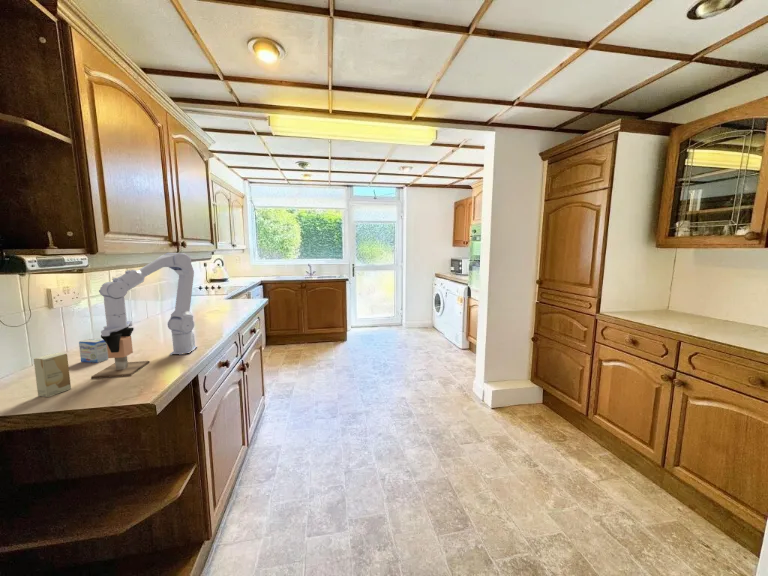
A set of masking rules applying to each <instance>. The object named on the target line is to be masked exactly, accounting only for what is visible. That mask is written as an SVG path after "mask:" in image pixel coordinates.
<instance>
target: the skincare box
mask: <svg viewBox="0 0 768 576" xmlns="http://www.w3.org/2000/svg"><path fill="white" fill-rule="evenodd" d="M33 364H34V374H35V381H36V391H37V396H38V397H45V398H48V397H49V396H50V397H52V396H54V395H57V394H60V393H63V392H66V391H69V390H71V389H72V385H71V377H70V375H71V374H70V368H69V357H68V353H65V352H54V353H51V354H46V355H41V356H39V357H34V358H33ZM50 397H49V398H50Z"/></svg>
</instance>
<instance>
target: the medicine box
mask: <svg viewBox="0 0 768 576" xmlns="http://www.w3.org/2000/svg"><path fill="white" fill-rule="evenodd" d="M78 347H79V354H80V355H79V357H80V362H81V363H91V362H92V363H94V364H95V363H96V364H98V363H101V362H106V361H107V360H109V358H108V352H107V343H106V342H105V341H104V340H103V339H102V338H100V339H98V338H97V339H95V338H94V339H93V338H87V339H84V340H80V341H79V342H78ZM92 363H91V364H92Z"/></svg>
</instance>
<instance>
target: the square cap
mask: <svg viewBox="0 0 768 576" xmlns="http://www.w3.org/2000/svg"><path fill="white" fill-rule="evenodd" d="M133 350H134V349H133V340H132V336H122V337H121V338H120V343H119V352H114V353H111V351H110V349H109V347H108V345H107V352H108V359H115V358H120V357H126V356H127V357H128V356H129V355H131V354H133V353H134V351H133Z"/></svg>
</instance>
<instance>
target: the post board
mask: <svg viewBox="0 0 768 576" xmlns="http://www.w3.org/2000/svg"><path fill="white" fill-rule="evenodd" d="M149 364H150V360H142V361H140V360H139V361H128V356H126V357H120V358H114V363H113V364H110V365H108V366H107V367H105V368H104V369H102V370H100V371H99V372H97V373H95V374H93V375H91V376H90V378H91V379H92V380H93V379H105V378H117V377H119V378H121V377H129V376H130V377H131V376H132V375H135V373H137V372H138V371H139V370H141V369H143V368H144V367H146V366H147V365H149Z"/></svg>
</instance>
